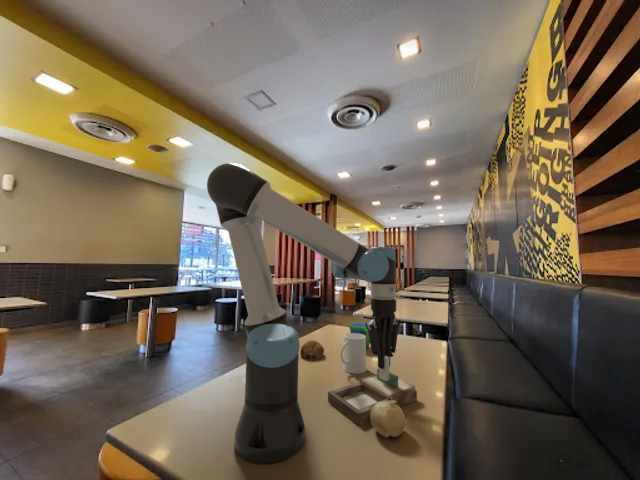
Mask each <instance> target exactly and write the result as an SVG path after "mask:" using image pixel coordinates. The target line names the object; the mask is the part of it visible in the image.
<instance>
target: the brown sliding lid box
mask: <svg viewBox="0 0 640 480" xmlns="http://www.w3.org/2000/svg"><path fill="white" fill-rule="evenodd" d="M373 376H377V373H375V374H371V375H369V376H365V377H362V378H360V379H359V382H356V383H353V384H349V385H346V386H343V387H340V388H337V389H334V390H333V389H332V390H329V391H327V402H329V403H330V404H331V405H332V406H334V407H335V408H336V409H338V410H339V411H340V412H341V413H342V414H344V415H345V416H347V417H348V418H349V419H351V420H352V421H353V422H355V423H356V424H357V425H359V426H360V425H362V424H364V423H366V422H368V421H371V420H370V413H371V410H372V408H373V406H374V405H375V404H376V403H378V402H381V401H388V402H389V401H391V400H396V401H397V403H396V404H397V405H398V406H399V407H400V408H402V407H405V406H407V405H409V404H411V403H414V402H416V401H418V395H417V394H418V393H417V392H418V391H417V390H416V387H415V388H414V387H413V388H410V389H407V390H405V391H402V392H399V393H397V394H394V395H391V396H392V399H391V398H387V397H385V396H383V395H381V394H380V393H378V392H376V391H374V390H373V389H371V388H369V387H367V386H366V385H364V384H362V383H361V380H364V379H367V378H370V377H373Z"/></svg>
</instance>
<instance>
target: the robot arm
mask: <svg viewBox="0 0 640 480" xmlns="http://www.w3.org/2000/svg"><path fill="white" fill-rule="evenodd" d="M206 190H207V193H208V196H209V198H210V199H211V201H212V202H213V203H214V204H215V206H216V211H217V215H218V219H219V223H220V227H222V228H223V229H225V230H226V231H227V233H228V236H229V241H230V244H231V248H232V253H233V256H234V257H233V258H234V261H235V265H236V269H237V273H238V278H239V281H240V286H241V290H242V294H243V299H244V302H245V307H246V311H247V317H246V319H245V321H244V323H243V324H244V328H245V333H246V337H247V339H246V340H247V341H246V343H245V351H246V355H245V356H246V360H245V364H246V365H245V383H244V385H245V386H244V405H243V408H242V409H241V410H242V411H241V412H240V413H241V414H240V416H239V420H238V422H237V425H236V429H235V432H234V448H235V451H236V453H237V455H239V457H241V458H242V459H244V460H246V461H248V462H251V463H255V464H273V463H274V464H275V463H278V462H281V461H284V460H287V459H289V458H290V457H293V455H295V454H297V452H299V451H300V450H301V448H302V446H303V445H304V442H305V437H306V429H305V427H306V426H305V422H304V418H303V414H302V410H301V408H300V404H299V401H298V397H299V395H298V393H299V353H300V348H301V347H300V346H301V345H300V337H299V334H298V331H297V330H296V328H294V327H293V326H290V323H289V319H288V315H287V311H286V309H285V308H282V307H281V306H280V305H279V302H278V296H277V293H276V289H275V284H274V281H273V276H272V272H271V269H270V264H269V260H268V256H267V252H266V248H265V244H264V240H263V236H262V230H261V228H260V223H261V221H263V222H265V223H266V224H268V225H269V226H271V227H273V228H275V229H276V230H278V231H280V233H283V234H285V235H287V236H288V237H290V238H291V239H293V240H295V242H296V241H297V242H298V243H300V244H302V245H303V246H305V247H307V248H309V249H310V250H312V251H313V252H315V253H316V254H319V255H320V256H321V257H324V258H325V259H326V260H328V261H330V262H331V272H332V274H333V277H334V278H336V279H353V280H361V281H365V282H367V283H370V297H372V298H370V310H371V311H372V315H371V319H370V321H369V322H366V324H365V326H366V328H367V330H368V333H369V339H370V344H369V345H370V348H371V354H372V355H374V356H377V367H378V368H377V369H379V378H381V379H383V380H385V381H388V380H389V372H390V367H391V358H393V357H394V353H396V350H397V344H398V336H399V335H398V334H399V329H400V325H401V324H402V323H401V322H402V321H401V319H398V318H397V317H396V314H395V312H397V299H396V297H397V292H396V291H397V287H396V286H397V285H396V284H397V281H396V280H397V278H396V277H397V271H396V269H397V259H396V250H395V248H393V247H391V246H372V247H371V248H370V249H369V248H367V247H366V246H364V245H362V244H361V243H359V242H357V240H355V239H353V238H351V237H350V236H349V235H347V234H345V233H343V232H341V231H340V230H338V229H336V228H335V227H334V226H332V225H331V224H329V223H327V222H325V221H324V220H322V219H320V218H319V217H318V216H316V215H314V214H312V213H311V212H309V211H308V210H306V209H304V208H303V207H301V206H300V205H298V204H296V203H295V202H294V201H291V200H290V199H288V198H287V197H285V196H283V195H282V194H280V193H279V192H277V191H276V190H274V189H272V186H271V183H270V182H269V181H268V180H266V179H265V178H263V177H261V176H259V175H258V174H256V173H255V172H253V171H252V170H250V169H249V168H247V167H245V166H243V165H242V164H238V163H234V162H233V163H232V162H227V163H223V164H219V165H217V166H216V167H215V168H214V169H213V170H212V171H211V172H210V173H209V175H208V177H207V182H206Z"/></svg>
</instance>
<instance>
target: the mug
mask: <svg viewBox="0 0 640 480" xmlns="http://www.w3.org/2000/svg"><path fill="white" fill-rule="evenodd" d="M366 349H367V348H366V336H365V335H362V334H358V333H351V332H350V333H345V334H344V335H343V345H342V347H341V349H340V360H341V361H342V363H343V367H342V369H343V371H344V372H346V373H348V374H354V375H355V374H356V375H359V374H364V373H365V372H367V363H366V362H367V350H366Z"/></svg>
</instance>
